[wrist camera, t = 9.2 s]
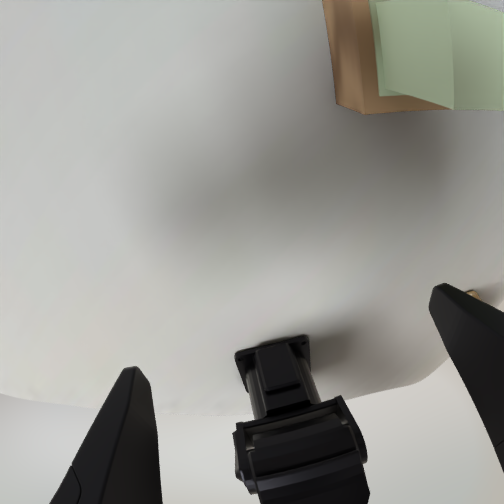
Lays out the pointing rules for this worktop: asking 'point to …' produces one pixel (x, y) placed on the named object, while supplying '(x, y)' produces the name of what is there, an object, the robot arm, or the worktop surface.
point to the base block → (362, 60)
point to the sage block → (444, 52)
